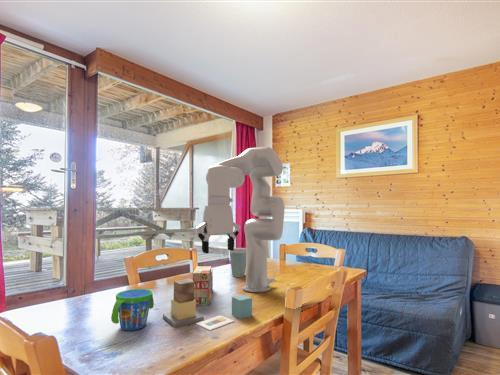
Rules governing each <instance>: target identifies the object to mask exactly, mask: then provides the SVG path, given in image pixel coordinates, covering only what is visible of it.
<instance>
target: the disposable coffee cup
mask: <svg viewBox="0 0 500 375" xmlns="http://www.w3.org/2000/svg"><path fill="white" fill-rule="evenodd" d="M228 251H229V252H228V253H229V257H230V258H229V259H230V267H231V268H230V269H231V275H232V277H236V278H243V277H244V276H245V275H246V247H234V251H231V250H228Z"/></svg>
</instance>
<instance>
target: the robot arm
mask: <svg viewBox="0 0 500 375" xmlns="http://www.w3.org/2000/svg"><path fill="white" fill-rule="evenodd" d="M283 165H284V164H283V162H282V160H281V158H280V156H279V155H278V154H277V153H276V151H275V150H274V149H273V148H272V147H270V146H260V147H258V146H257V147H249V148H247V149H245V150H244V151H243V152H241V153H240V154H239V155H238V156H235V157H231V158H230V159H226V160H223V161H220V162H218V163H216V164H214V165H211V166H209V167H208V169H207V173H206V176H205V180H206V183H207V205H204V211H203V217H202V223H200V224H199V225H198V226H196V227H194V231H195V234H196V236H197V238H199V239H200V241H201V250H202V253H204V254H209V253H210V252H209V249H210V248H209V247H210V246H209V245H210V243H209V240H208V239H209V238H210V237H211V236H219V235H220V236H221V235H227V250H228V251H230V250H231V251H234V248H235V240H236V238H237V236H238V235H239V232H240V229H241V228H242V226H241V225H239V224H238V223H237V222H234V215H233V208H232V205H231V203H232V202H233V201H234V200H233V198H231V196H230V194H231V193H230V192H231V191H230V190H231V189H232V188H233V189H234V188H236V189H237V188H239V187H240V188H241V186H243V184H244V182H245V181H246V180H245V179H246V177H245V176H247V175H248V177H249V179H250V181H251V184H252V194H251V202H250V213H251V215H252V216H254V217H258V218H250V219H248V220H246V221H245V223H244V228H243V231H244V235H245V245H246V246H245V248H246V269H245V284H243V285H242V290H243V291H246V292H248V293H266V292H268V291H270V290H271V285H270V284H271V283H275V282H276V279H275V278H274V277H271V278H269V277H268V249H267V246H266V244H265V243H264V241H279V240H280V239H282V238H283V231H284V221H285V201H284V199H283V198H282V197H280V196H276V195H275V196H273V195H271V190H272V189H271V186H270V184H269V182H268V181H267V180H266V179H265V178H266V177H271V178H272V177H279V176H281V175H282V173H283V170H284V169H283V168H284V166H283ZM264 177H265V178H264ZM259 217H262V218H259ZM263 217H264V218H263ZM268 217H269V218H268ZM201 230H202V231H201Z"/></svg>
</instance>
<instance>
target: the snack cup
mask: <svg viewBox="0 0 500 375" xmlns="http://www.w3.org/2000/svg"><path fill="white" fill-rule="evenodd" d="M153 295H154V294H153V291H152V290H150V289H147V288H146V289H144V288H135V289H126V290H122V291H120V292H118V293H117V294H115V302H114V304H113V309H112V312H111V318H110V319H111V322H112V323H113V324H115V325H117V324H119V326H120V328H121V329H122V330H123V331H134V330H135V331H136V330H139V329H140V330H141V329H142V328H144V327H145V326H146V325H147V322H148V316H149V313H150V312H149V311H150V309H153V308H154V305H155V303H154V302H155V301H154V296H153Z"/></svg>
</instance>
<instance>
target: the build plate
mask: <svg viewBox="0 0 500 375" xmlns="http://www.w3.org/2000/svg"><path fill="white" fill-rule="evenodd" d="M170 300H171V301H170V312H166V313H163V314H162V318H163V319H164V320H165V321H166V322H168V323H169V325H170V326H172V327H173V328H178V327H183V326H186V325H191V324H196V323H198V322H201V321H204V319H205V316H203V315H202V314H201V313H199V312H197V311H196V309H197V308H196V307H197V305H196V300H194V301H189V302H183V303H179V302H177V301H175V300H174V298H171V299H170Z"/></svg>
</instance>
